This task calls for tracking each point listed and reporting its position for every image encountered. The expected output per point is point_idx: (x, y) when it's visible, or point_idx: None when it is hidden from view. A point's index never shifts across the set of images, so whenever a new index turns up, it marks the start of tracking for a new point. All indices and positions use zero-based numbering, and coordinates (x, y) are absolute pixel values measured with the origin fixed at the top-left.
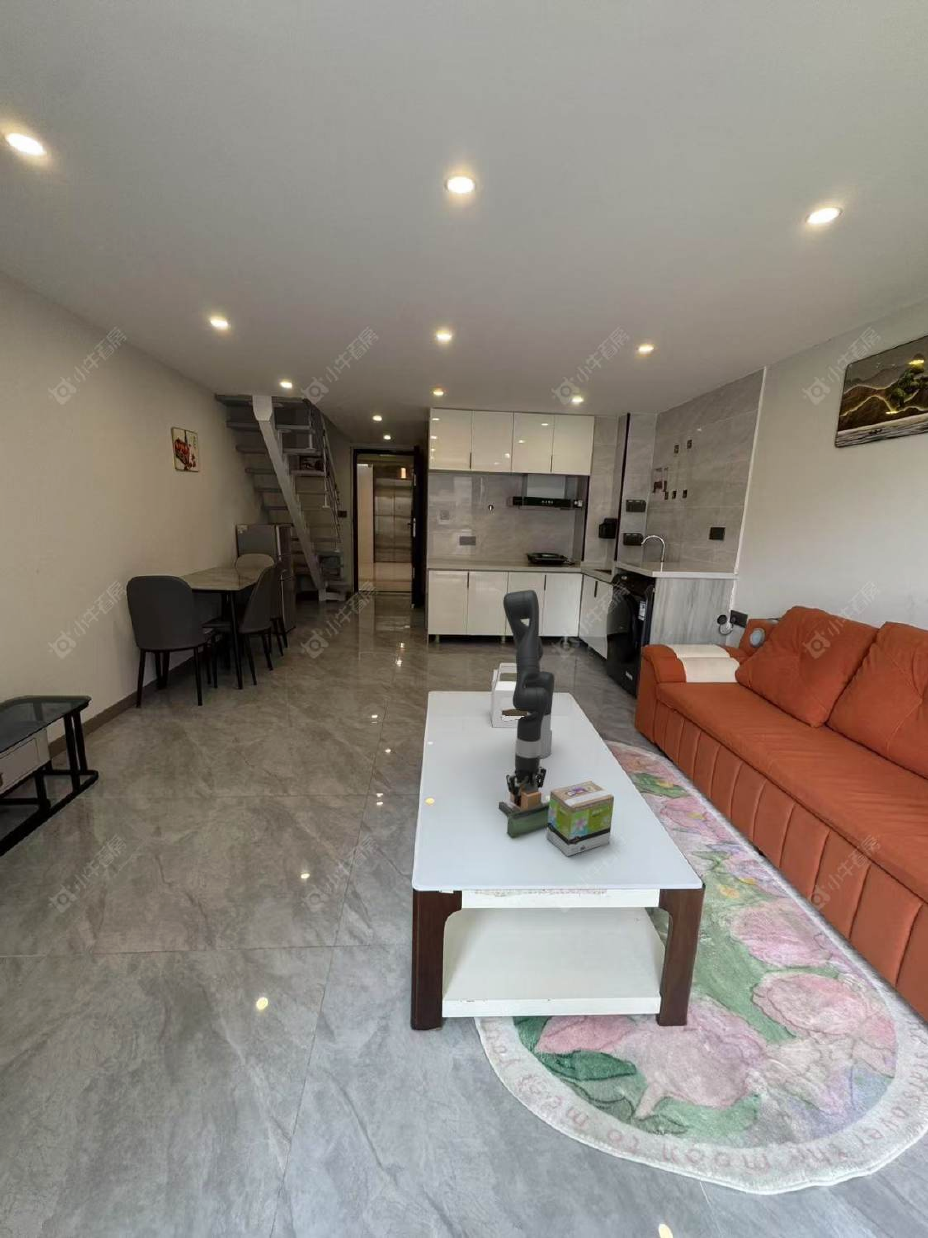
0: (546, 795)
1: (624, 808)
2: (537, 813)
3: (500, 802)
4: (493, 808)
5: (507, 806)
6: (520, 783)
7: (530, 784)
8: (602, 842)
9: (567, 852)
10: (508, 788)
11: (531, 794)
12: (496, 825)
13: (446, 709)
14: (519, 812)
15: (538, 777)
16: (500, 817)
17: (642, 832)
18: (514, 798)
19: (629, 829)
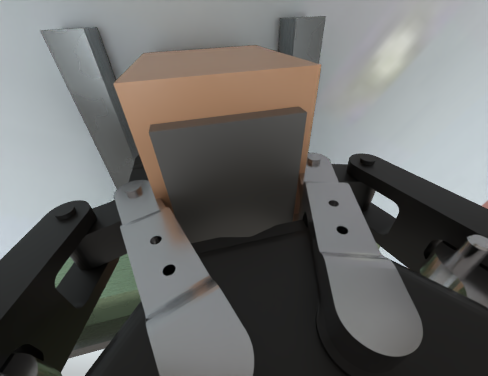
0: (403, 23)
1: (467, 194)
2: None
3: (55, 36)
4: (13, 6)
5: (104, 108)
6: (218, 170)
7: (293, 204)
8: None
9: None
10: (24, 244)
11: None
12: (24, 180)
13: None
14: (108, 304)
15: (402, 221)
16: (59, 126)
17: (395, 261)
18: (133, 174)
19: (389, 253)
